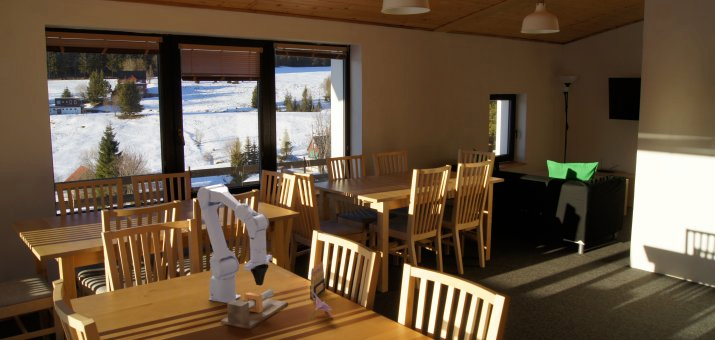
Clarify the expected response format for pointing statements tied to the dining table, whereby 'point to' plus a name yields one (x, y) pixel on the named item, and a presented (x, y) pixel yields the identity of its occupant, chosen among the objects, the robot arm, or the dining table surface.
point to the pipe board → (250, 313)
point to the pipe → (264, 297)
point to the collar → (258, 298)
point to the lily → (321, 305)
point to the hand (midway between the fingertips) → (259, 284)
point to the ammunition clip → (317, 281)
